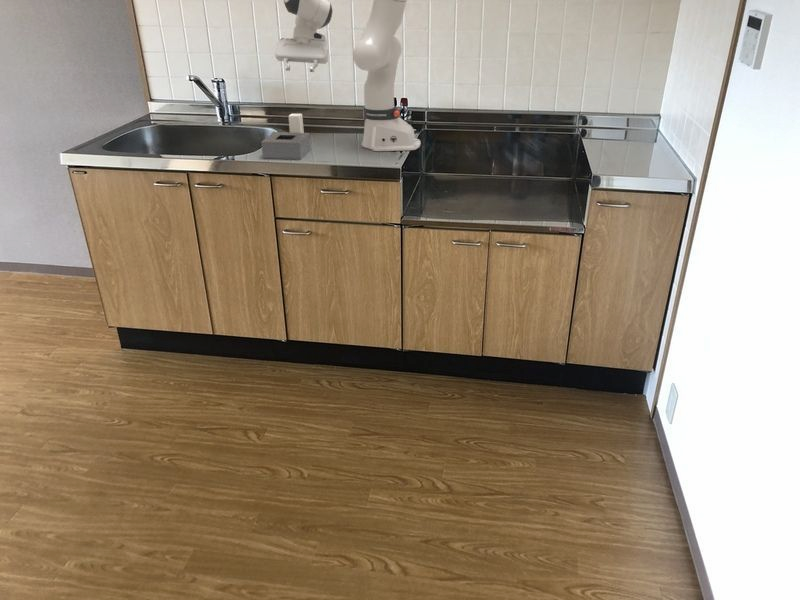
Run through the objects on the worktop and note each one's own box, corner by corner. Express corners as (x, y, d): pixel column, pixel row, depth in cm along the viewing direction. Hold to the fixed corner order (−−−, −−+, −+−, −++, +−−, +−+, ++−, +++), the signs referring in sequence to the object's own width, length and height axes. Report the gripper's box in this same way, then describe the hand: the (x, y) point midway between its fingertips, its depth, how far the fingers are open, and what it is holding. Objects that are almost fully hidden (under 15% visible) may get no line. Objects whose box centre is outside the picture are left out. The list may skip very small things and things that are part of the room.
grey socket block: (310, 149, 252) (309, 133, 249) (300, 159, 240) (299, 142, 237) (274, 148, 254) (273, 132, 251) (263, 158, 241) (261, 141, 239)
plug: (304, 142, 260) (302, 113, 255) (301, 145, 257) (299, 116, 252) (294, 142, 261) (291, 113, 256) (290, 145, 257) (288, 116, 252)
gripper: (276, 32, 258) (271, 63, 254) (328, 35, 257) (324, 67, 253) (279, 43, 264) (274, 73, 261) (330, 46, 263) (326, 77, 260)
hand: (299, 70), depth 257 cm, fingers open, 8 cm apart
